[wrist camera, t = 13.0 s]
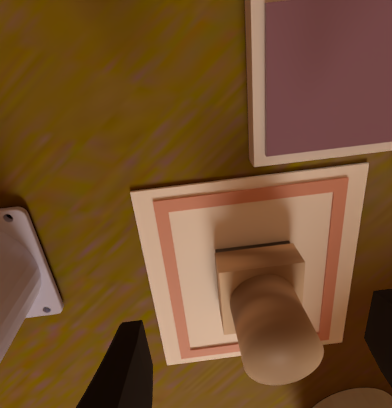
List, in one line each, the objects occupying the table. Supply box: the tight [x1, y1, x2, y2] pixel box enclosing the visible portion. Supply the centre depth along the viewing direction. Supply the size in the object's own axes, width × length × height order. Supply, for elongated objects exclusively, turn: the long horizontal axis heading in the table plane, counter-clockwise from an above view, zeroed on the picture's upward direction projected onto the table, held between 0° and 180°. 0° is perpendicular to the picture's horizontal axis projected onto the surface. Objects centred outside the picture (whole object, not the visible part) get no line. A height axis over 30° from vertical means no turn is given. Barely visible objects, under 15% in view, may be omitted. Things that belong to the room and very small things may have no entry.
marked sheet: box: [130, 162, 369, 365], centre depth 21 cm, size 14×15×1 cm
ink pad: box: [245, 0, 392, 167], centre depth 15 cm, size 8×8×2 cm
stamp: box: [215, 240, 324, 385], centre depth 18 cm, size 5×5×6 cm
